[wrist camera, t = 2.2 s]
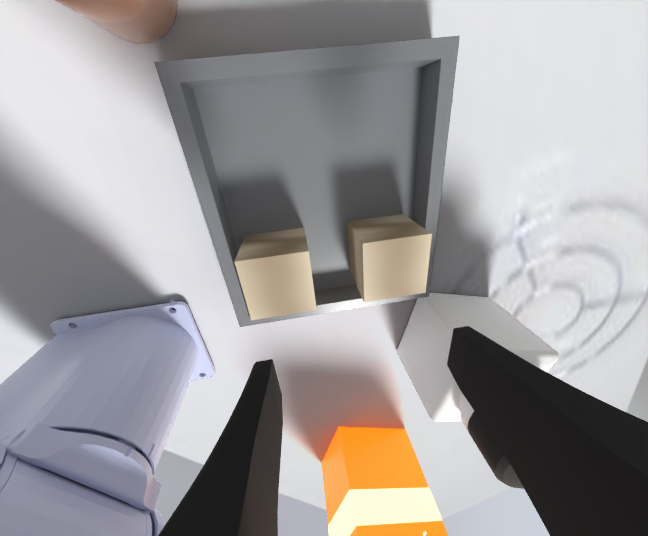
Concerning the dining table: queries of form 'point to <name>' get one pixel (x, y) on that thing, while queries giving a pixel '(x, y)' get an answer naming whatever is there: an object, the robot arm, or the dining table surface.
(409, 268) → the birch block
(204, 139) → the tray
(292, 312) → the birch block
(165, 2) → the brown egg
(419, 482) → the orange juice
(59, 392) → the robot arm
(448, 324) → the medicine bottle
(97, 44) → the dining table surface
